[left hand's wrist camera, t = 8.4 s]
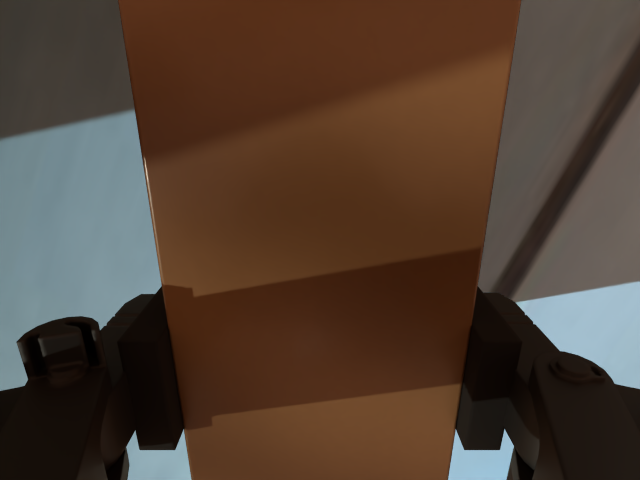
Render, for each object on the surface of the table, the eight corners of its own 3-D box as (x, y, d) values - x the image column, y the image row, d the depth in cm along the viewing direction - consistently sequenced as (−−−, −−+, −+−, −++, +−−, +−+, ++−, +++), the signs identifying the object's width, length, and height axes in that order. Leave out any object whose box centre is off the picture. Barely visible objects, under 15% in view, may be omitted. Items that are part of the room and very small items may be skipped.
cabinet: (224, -173, 13) (-13, -825, 4) (415, -172, 13) (652, -825, 4) (255, 326, 19) (199, 537, 10) (383, 326, 19) (440, 537, 10)
